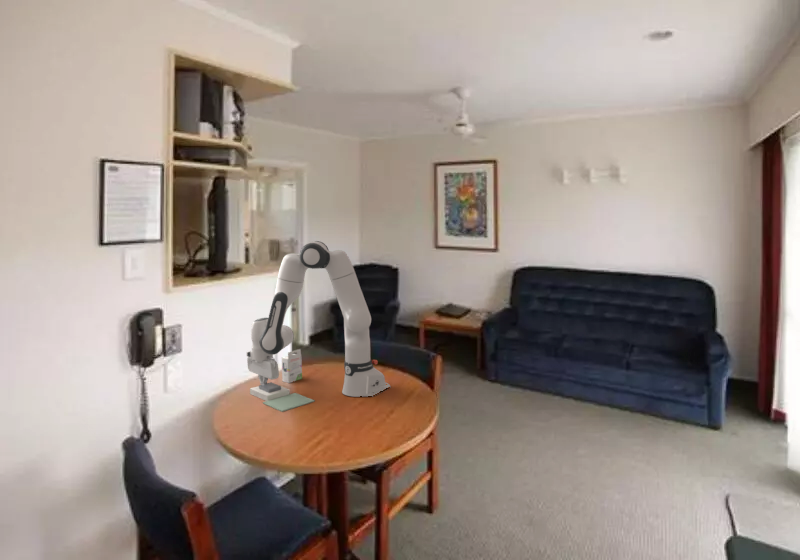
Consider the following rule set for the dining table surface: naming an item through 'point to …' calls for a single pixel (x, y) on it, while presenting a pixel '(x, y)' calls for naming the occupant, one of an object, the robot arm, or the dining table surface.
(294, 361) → the ink box
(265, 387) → the slate coaster
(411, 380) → the dining table surface
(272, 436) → the dining table surface
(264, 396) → the stand
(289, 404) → the mat
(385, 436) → the dining table surface
